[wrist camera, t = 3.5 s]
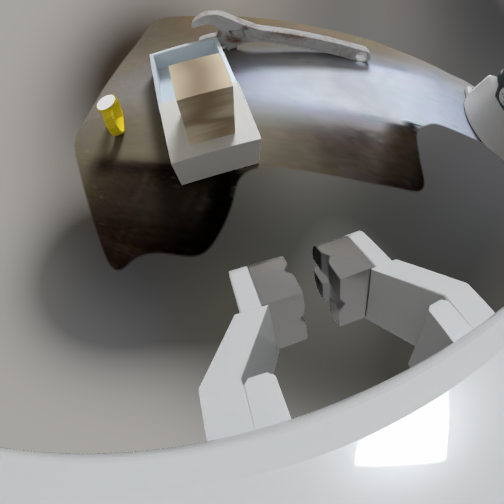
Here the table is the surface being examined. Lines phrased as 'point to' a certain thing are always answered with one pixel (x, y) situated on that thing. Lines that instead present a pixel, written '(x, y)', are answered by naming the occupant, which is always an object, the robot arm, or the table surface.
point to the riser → (211, 143)
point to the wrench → (273, 36)
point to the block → (204, 97)
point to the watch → (108, 108)
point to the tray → (178, 55)
